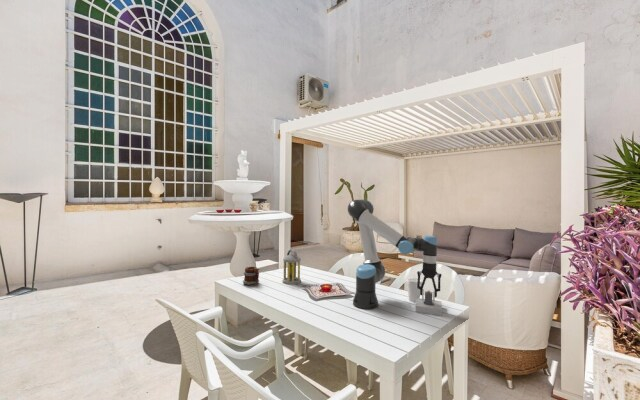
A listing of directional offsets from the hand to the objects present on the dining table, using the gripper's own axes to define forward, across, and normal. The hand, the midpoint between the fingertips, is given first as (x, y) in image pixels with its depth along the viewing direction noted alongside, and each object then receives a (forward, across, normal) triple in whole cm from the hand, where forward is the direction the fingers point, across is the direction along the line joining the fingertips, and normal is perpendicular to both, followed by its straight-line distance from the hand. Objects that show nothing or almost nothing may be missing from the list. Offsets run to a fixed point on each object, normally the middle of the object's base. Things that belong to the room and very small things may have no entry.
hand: (428, 301), depth 177 cm
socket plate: (+5, 0, 0) cm, 5 cm away
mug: (+7, -123, +3) cm, 123 cm away
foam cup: (+5, -9, +13) cm, 16 cm away
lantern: (+7, -99, +20) cm, 101 cm away
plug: (+2, 0, 0) cm, 2 cm away
